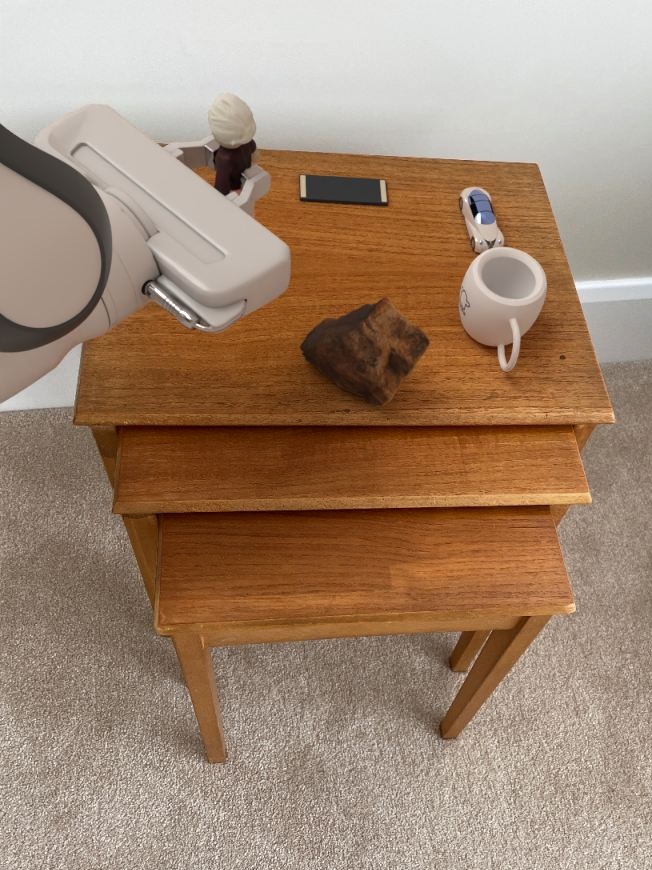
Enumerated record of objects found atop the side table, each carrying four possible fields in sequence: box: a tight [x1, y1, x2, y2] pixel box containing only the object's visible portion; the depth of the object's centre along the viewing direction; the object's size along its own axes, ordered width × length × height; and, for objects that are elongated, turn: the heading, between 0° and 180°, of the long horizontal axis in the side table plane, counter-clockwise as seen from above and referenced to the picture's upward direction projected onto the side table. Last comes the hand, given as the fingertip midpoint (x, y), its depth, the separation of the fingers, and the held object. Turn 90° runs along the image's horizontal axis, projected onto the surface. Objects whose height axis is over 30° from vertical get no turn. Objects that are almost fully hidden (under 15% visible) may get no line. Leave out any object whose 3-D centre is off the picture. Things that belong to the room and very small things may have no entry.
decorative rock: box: [299, 297, 432, 408], centre depth 74 cm, size 12×6×11 cm, turn 57°
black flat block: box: [298, 173, 389, 207], centre depth 89 cm, size 10×4×1 cm, turn 93°
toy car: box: [458, 186, 505, 254], centre depth 88 cm, size 4×12×3 cm, turn 11°
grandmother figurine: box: [207, 92, 261, 219], centre depth 59 cm, size 8×4×13 cm, turn 173°
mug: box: [458, 246, 548, 373], centre depth 80 cm, size 12×8×8 cm
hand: (243, 160), depth 59 cm, fingers closed on grandmother figurine, 3 cm apart
